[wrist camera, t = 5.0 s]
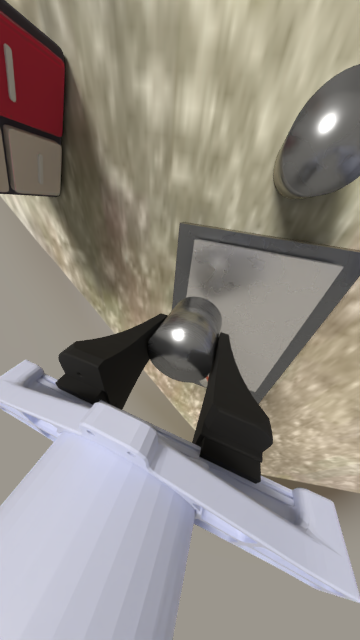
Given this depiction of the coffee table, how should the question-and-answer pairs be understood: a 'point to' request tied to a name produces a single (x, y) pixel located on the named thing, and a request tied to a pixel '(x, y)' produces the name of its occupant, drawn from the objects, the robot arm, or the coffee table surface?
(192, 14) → the coffee table surface
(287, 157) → the cylinder
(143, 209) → the coffee table surface
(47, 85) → the grey and red box
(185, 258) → the base
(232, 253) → the pan
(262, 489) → the robot arm
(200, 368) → the cylinder
